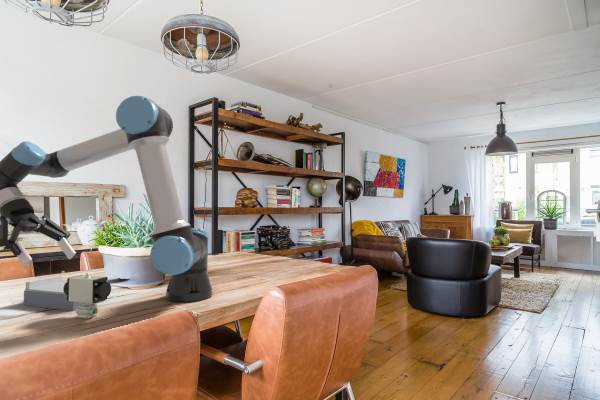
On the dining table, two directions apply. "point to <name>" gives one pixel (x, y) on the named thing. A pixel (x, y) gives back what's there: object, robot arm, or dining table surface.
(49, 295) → the grey piece
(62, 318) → the dining table surface
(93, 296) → the pneumatic valve
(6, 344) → the dining table surface
